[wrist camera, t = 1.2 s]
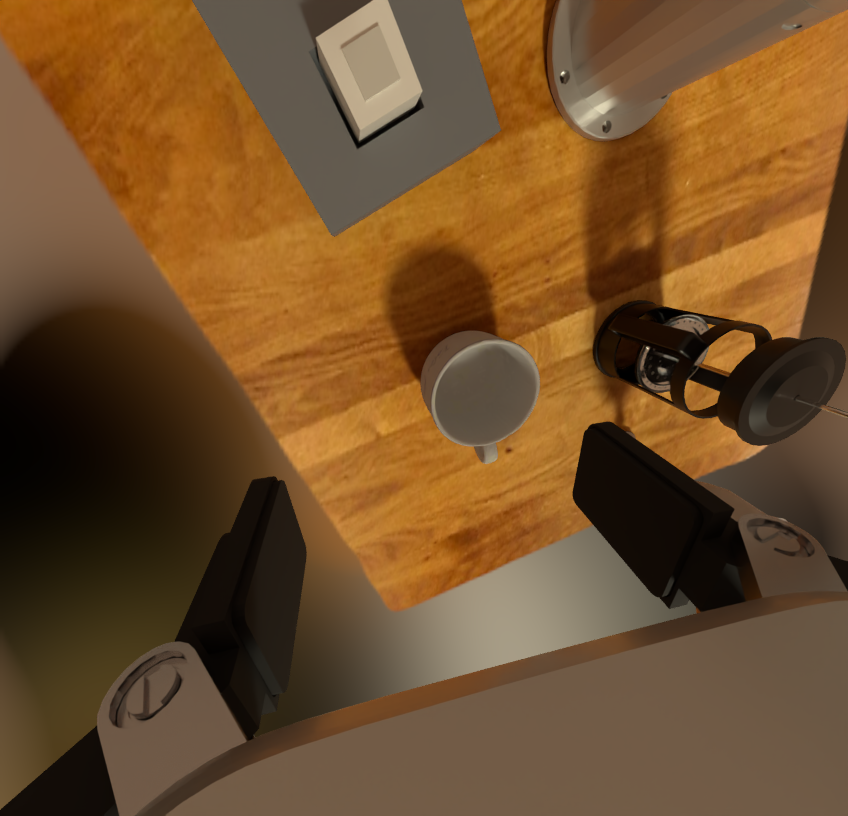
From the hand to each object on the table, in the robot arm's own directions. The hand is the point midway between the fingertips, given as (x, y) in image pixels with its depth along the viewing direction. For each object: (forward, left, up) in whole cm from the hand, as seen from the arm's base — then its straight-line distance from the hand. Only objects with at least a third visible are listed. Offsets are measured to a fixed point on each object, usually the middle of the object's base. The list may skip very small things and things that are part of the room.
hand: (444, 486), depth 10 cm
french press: (-24, +17, -26) cm, 40 cm away
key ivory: (-7, -14, -21) cm, 26 cm away
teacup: (-4, +11, -26) cm, 29 cm away
